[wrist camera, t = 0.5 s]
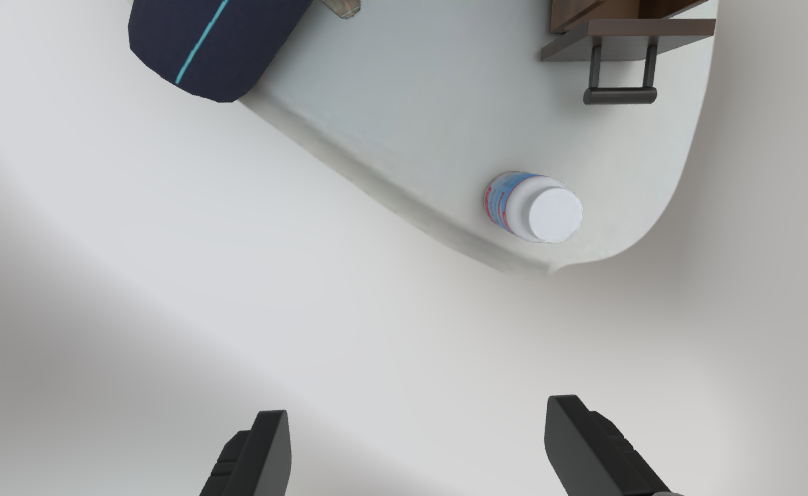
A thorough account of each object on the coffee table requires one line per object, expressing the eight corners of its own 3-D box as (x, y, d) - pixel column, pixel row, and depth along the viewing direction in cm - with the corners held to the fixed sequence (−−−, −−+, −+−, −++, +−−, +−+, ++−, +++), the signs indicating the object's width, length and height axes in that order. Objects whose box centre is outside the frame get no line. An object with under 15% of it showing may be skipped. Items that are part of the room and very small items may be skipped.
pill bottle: (472, 190, 42) (506, 203, 31) (521, 160, 42) (573, 163, 31) (498, 236, 44) (539, 265, 33) (546, 208, 43) (603, 227, 32)
